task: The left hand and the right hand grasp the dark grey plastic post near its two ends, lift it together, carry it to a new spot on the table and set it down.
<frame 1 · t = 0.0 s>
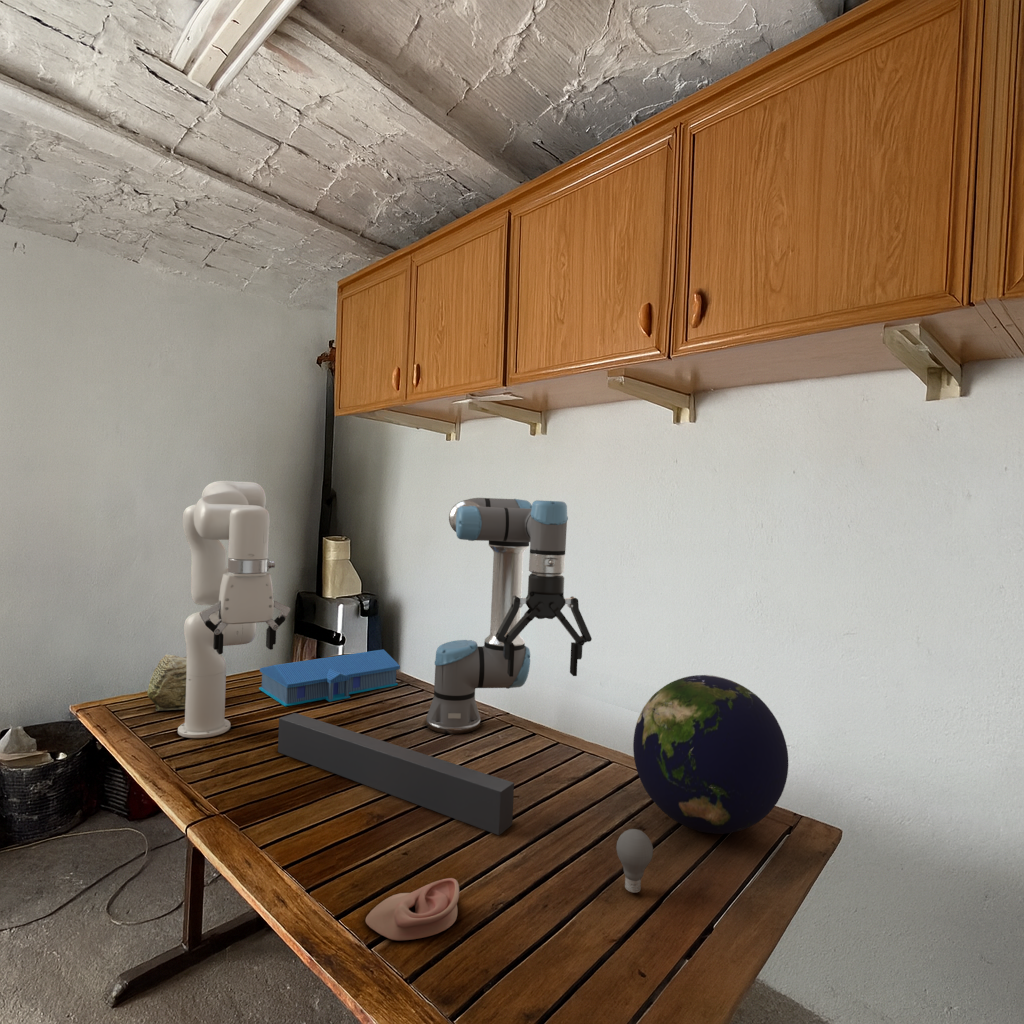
left hand: (244, 650, 130), 31 cm above the table, tool pointing down, fingers open, 9 cm apart
right hand: (542, 674, 133), 28 cm above the table, tool pointing down, fingers open, 13 cm apart
post: (382, 784, 141), on the table
light bulb: (632, 891, 106), on the table
model building: (332, 688, 208), on the table
globe: (704, 825, 129), on the table
fossil: (183, 706, 185), on the table
anatomical model: (413, 917, 97), on the table
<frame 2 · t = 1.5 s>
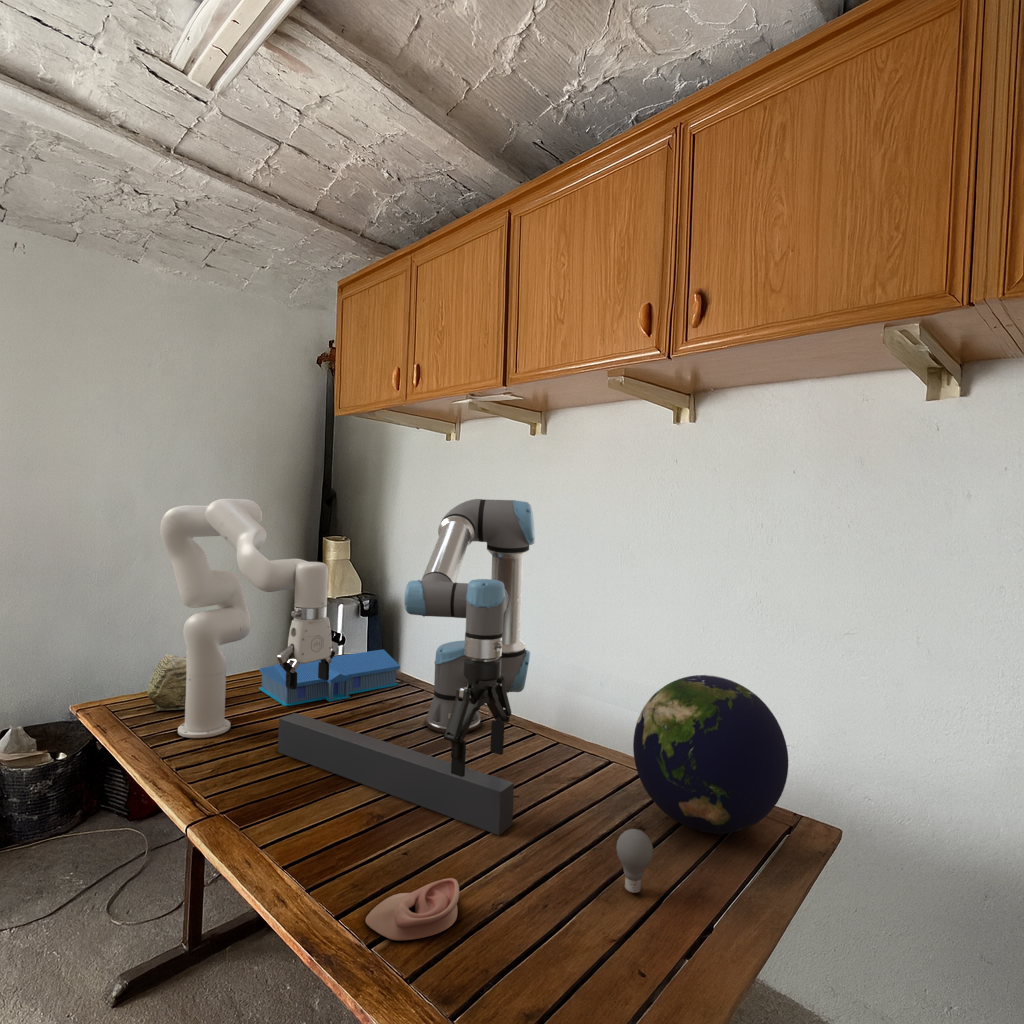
left hand: (307, 683, 154), 18 cm above the table, tool pointing down, fingers open, 9 cm apart
right hand: (478, 763, 127), 11 cm above the table, tool pointing down, fingers open, 13 cm apart
nothing on the table moved.
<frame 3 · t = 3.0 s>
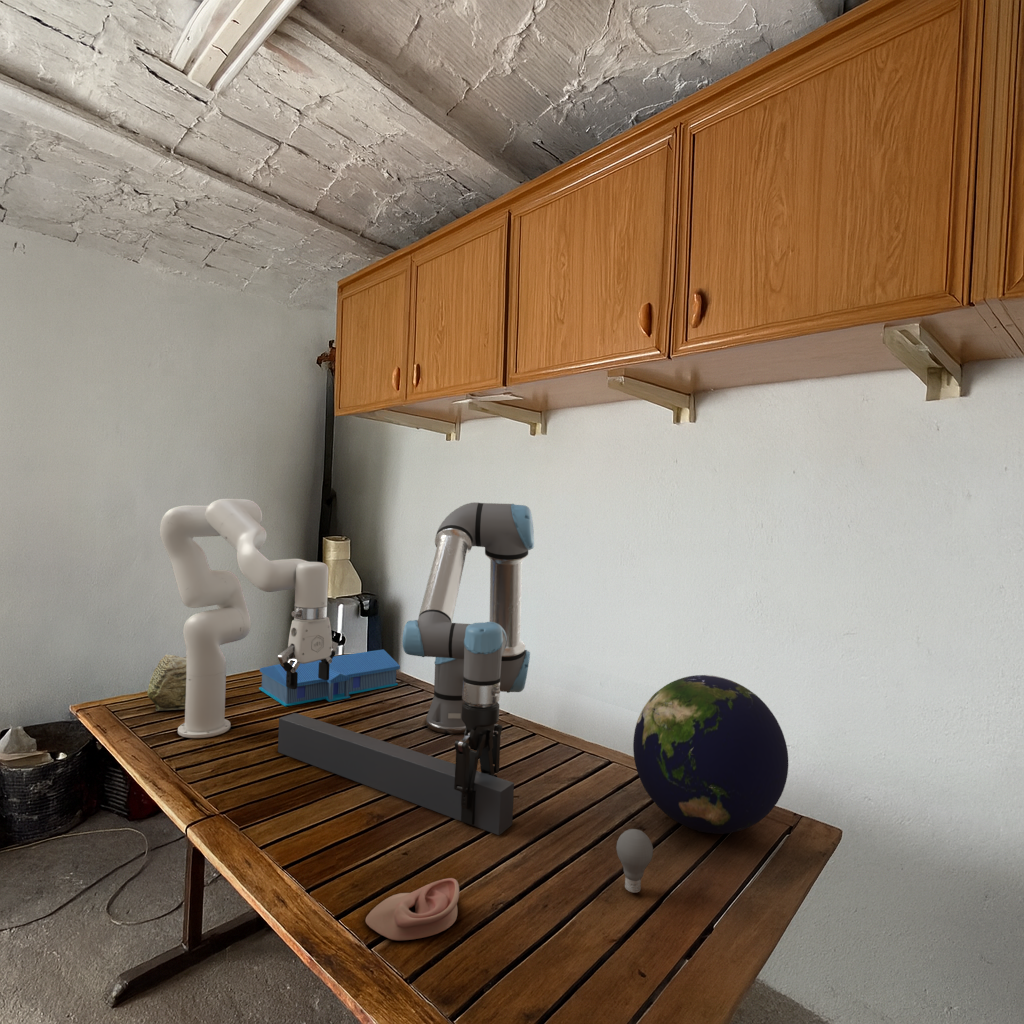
left hand: (308, 683, 154), 18 cm above the table, tool pointing down, fingers open, 9 cm apart
right hand: (475, 816, 127), 1 cm above the table, tool pointing down, fingers closed on post, 5 cm apart
post: (382, 784, 141), on the table, touching right hand
everything else where it was.
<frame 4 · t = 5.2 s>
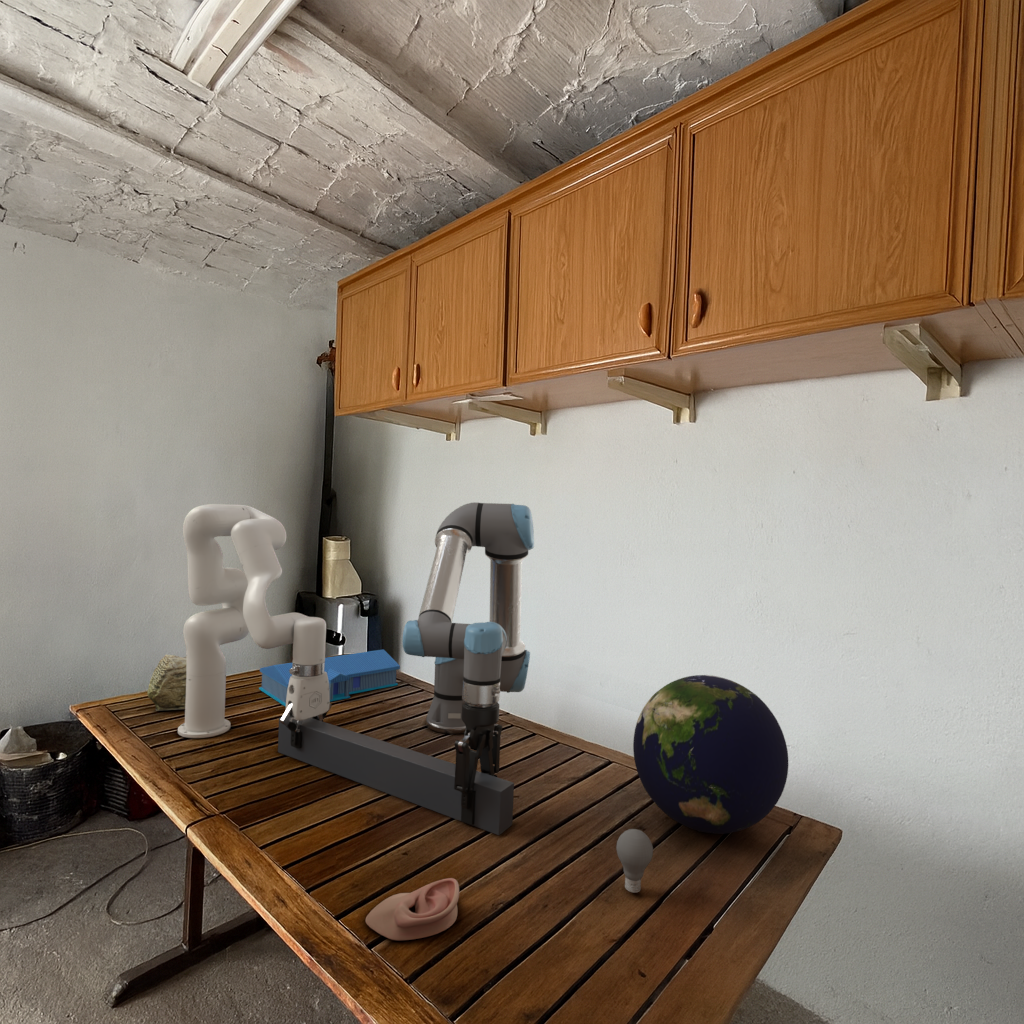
left hand: (305, 742, 154), 3 cm above the table, tool pointing down, fingers closed on post, 5 cm apart
right hand: (475, 816, 127), 1 cm above the table, tool pointing down, fingers closed on post, 5 cm apart
post: (382, 784, 141), on the table, touching left hand, right hand
everything else where it was.
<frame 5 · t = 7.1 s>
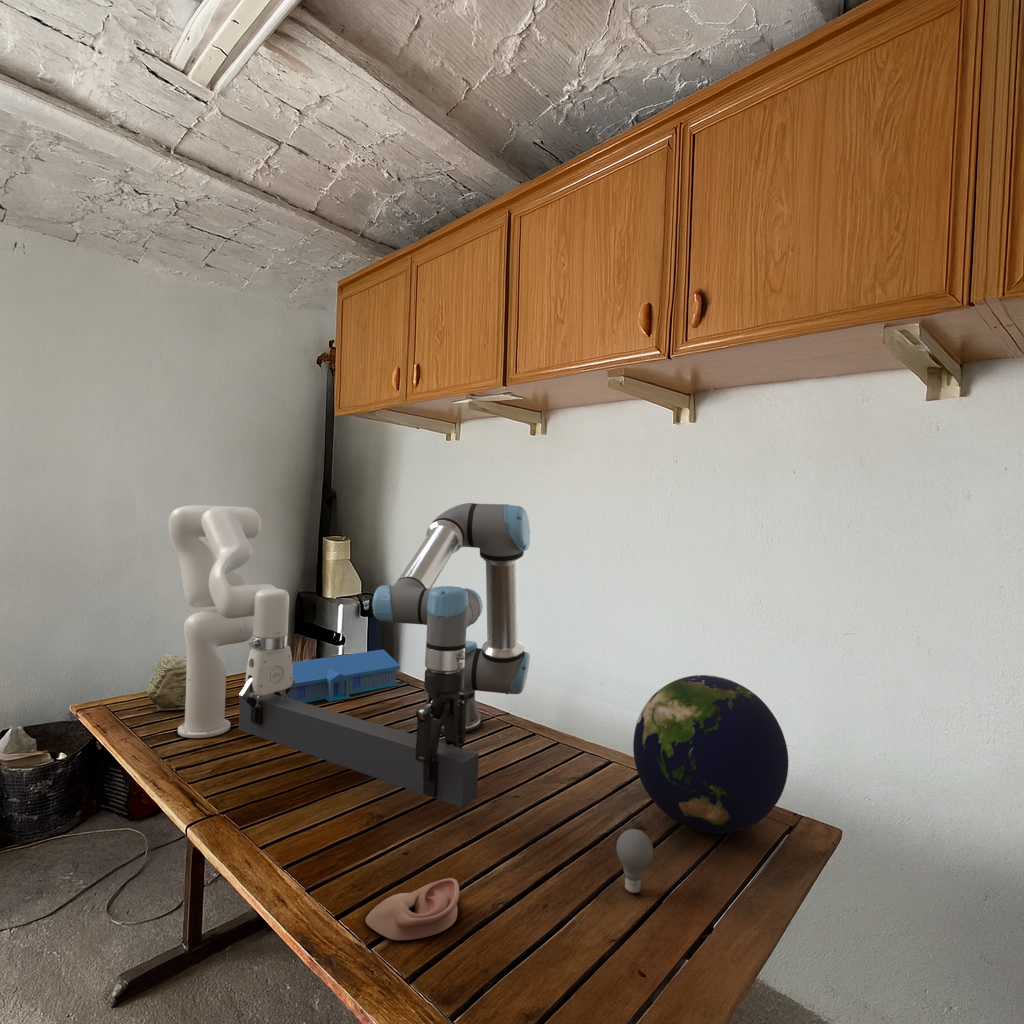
left hand: (266, 719, 148), 11 cm above the table, tool pointing down, fingers closed on post, 5 cm apart
right hand: (439, 788, 121), 9 cm above the table, tool pointing down, fingers closed on post, 5 cm apart
post: (344, 760, 134), point 8 cm above the table, touching left hand, right hand
everything else where it was.
when the right hand's fingers open (2 cm above the table, at t = 9.1 s): post drops 1 cm, on the table.
when the left hand's fingers open (5 cm above the table, at t = 9.2 s): post stays where it is, on the table.
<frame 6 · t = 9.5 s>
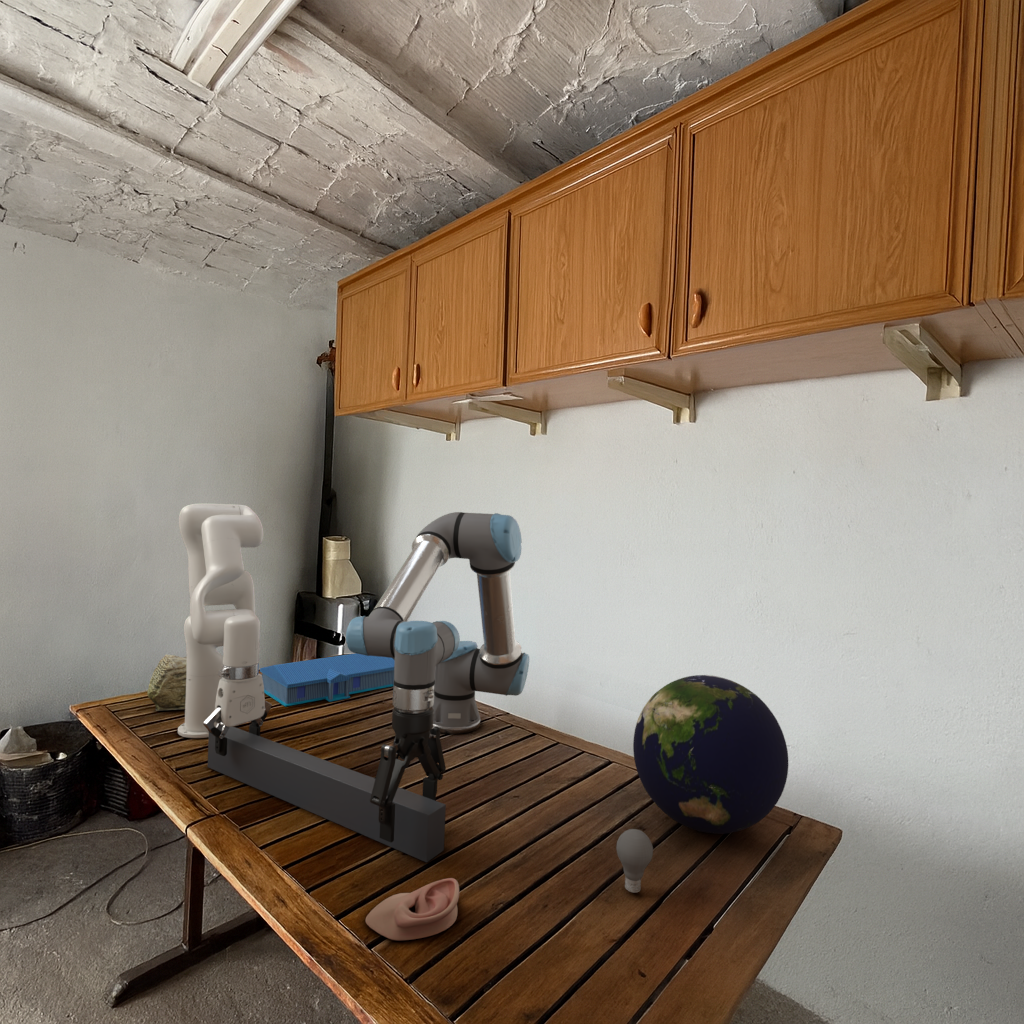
left hand: (237, 747, 143), 6 cm above the table, tool pointing down, fingers open, 7 cm apart
right hand: (408, 825, 117), 4 cm above the table, tool pointing down, fingers open, 11 cm apart
post: (312, 804, 131), on the table
everything else where it was.
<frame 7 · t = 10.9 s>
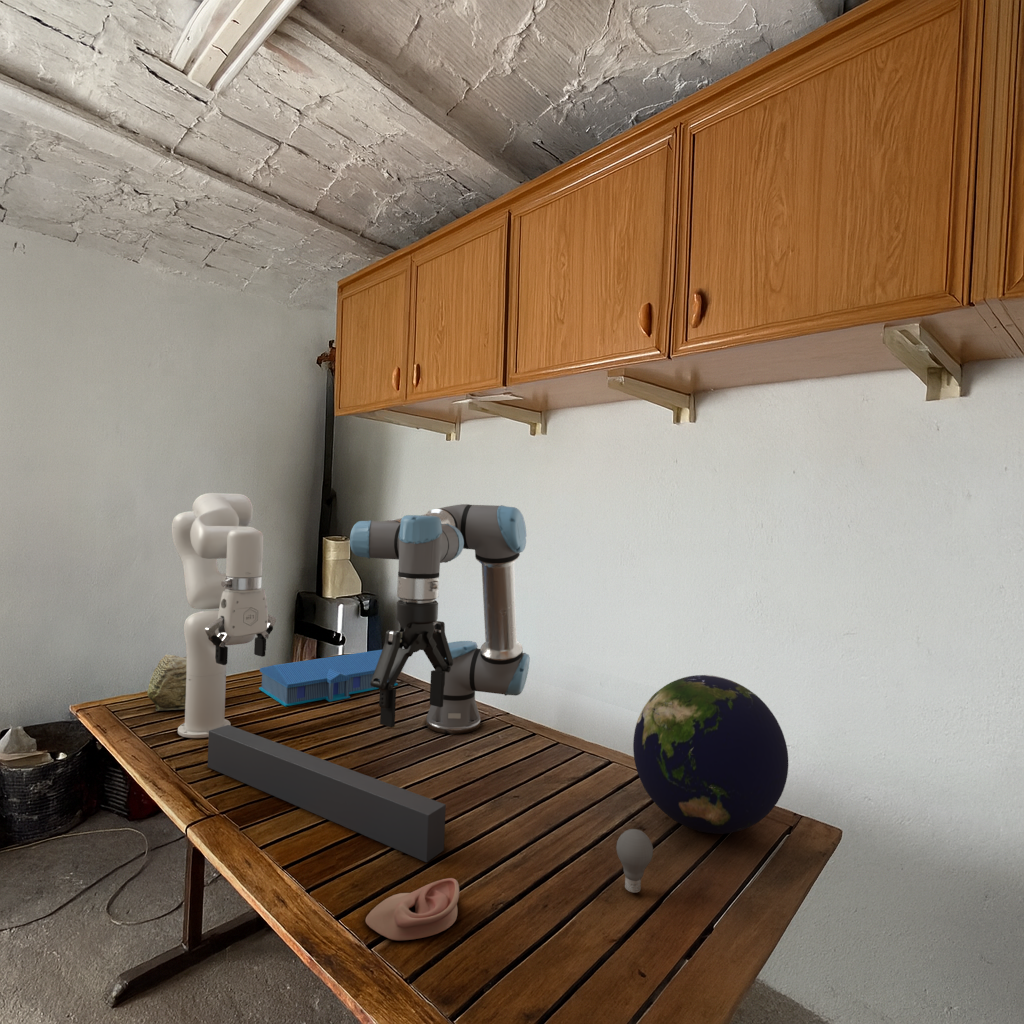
left hand: (241, 659, 143), 26 cm above the table, tool pointing down, fingers open, 9 cm apart
right hand: (413, 715, 116), 24 cm above the table, tool pointing down, fingers open, 13 cm apart
nothing on the table moved.
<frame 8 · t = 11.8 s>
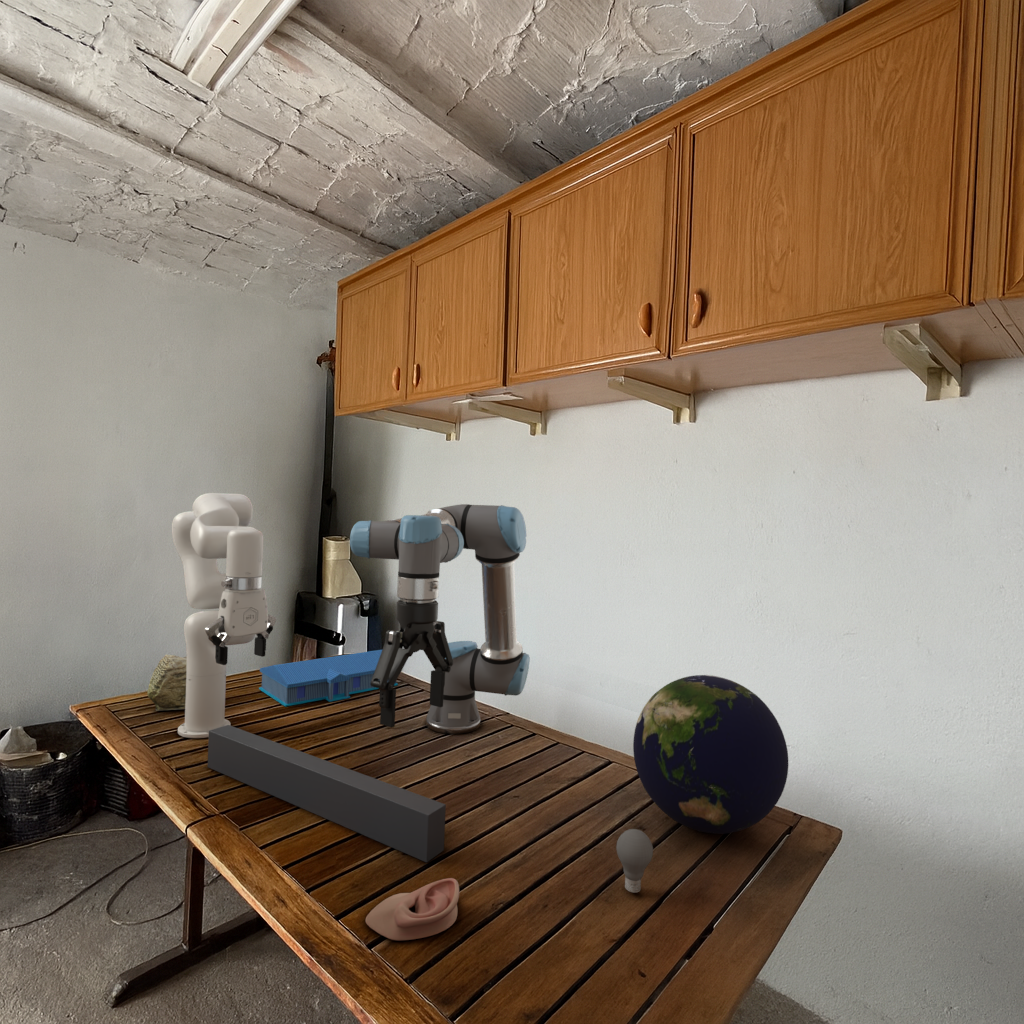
left hand: (241, 659, 143), 26 cm above the table, tool pointing down, fingers open, 9 cm apart
right hand: (413, 715, 116), 24 cm above the table, tool pointing down, fingers open, 13 cm apart
nothing on the table moved.
at the end: post inside the target area (0.7 cm from its centre), on the table; post tilted 0°; post never tilted more than 2° during the clip; both hands held the post at the same time; the left hand is holding nothing; the right hand is holding nothing; post at rest at the end (0.0 cm/s) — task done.
